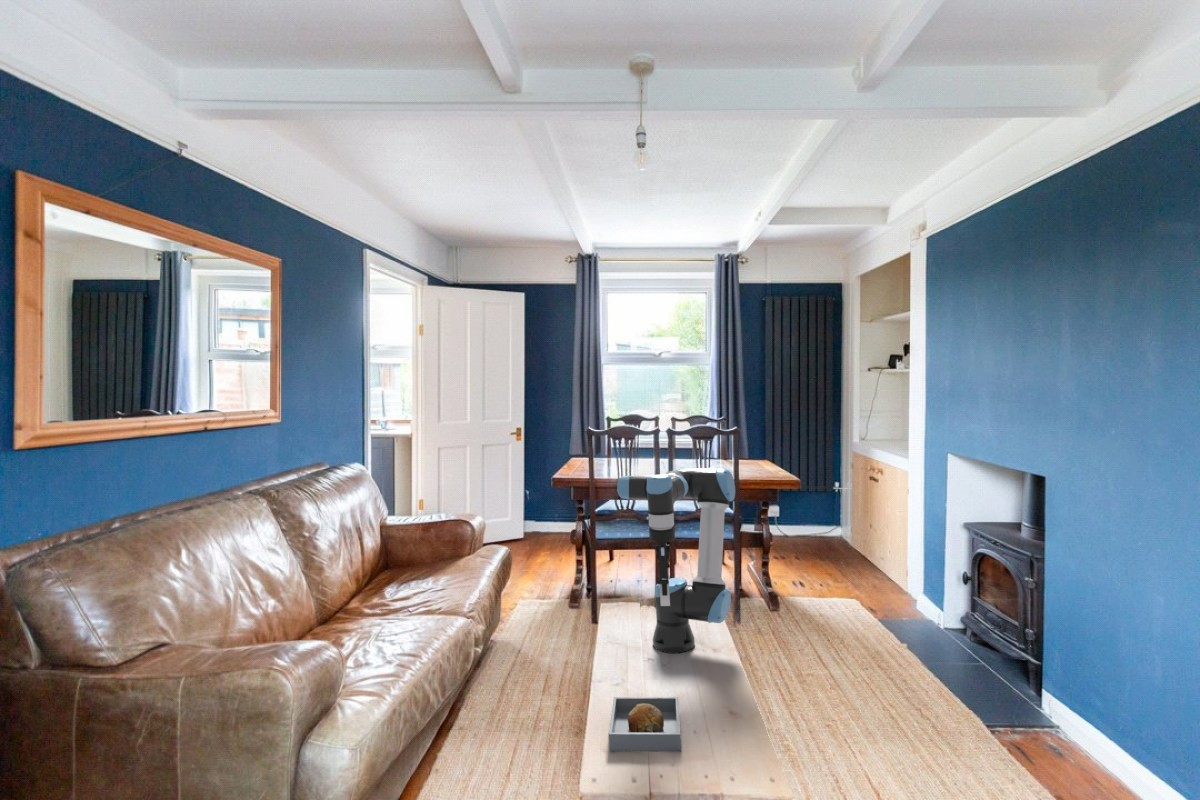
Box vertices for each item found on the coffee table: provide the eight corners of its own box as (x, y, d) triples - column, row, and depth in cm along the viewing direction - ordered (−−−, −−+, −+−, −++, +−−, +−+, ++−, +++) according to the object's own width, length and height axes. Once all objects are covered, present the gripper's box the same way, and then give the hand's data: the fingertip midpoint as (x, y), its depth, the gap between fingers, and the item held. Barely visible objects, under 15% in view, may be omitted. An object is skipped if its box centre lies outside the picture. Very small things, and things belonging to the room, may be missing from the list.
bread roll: (666, 737, 165) (668, 705, 168) (658, 740, 156) (659, 706, 159) (632, 732, 168) (634, 700, 171) (622, 735, 159) (624, 702, 163)
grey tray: (614, 712, 174) (613, 697, 174) (678, 712, 172) (678, 696, 172) (609, 751, 155) (608, 734, 155) (681, 751, 153) (680, 734, 153)
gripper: (649, 518, 192) (653, 583, 192) (648, 537, 167) (652, 613, 167) (673, 517, 191) (676, 583, 191) (675, 537, 166) (679, 612, 166)
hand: (665, 597), depth 179 cm, fingers open, 13 cm apart
